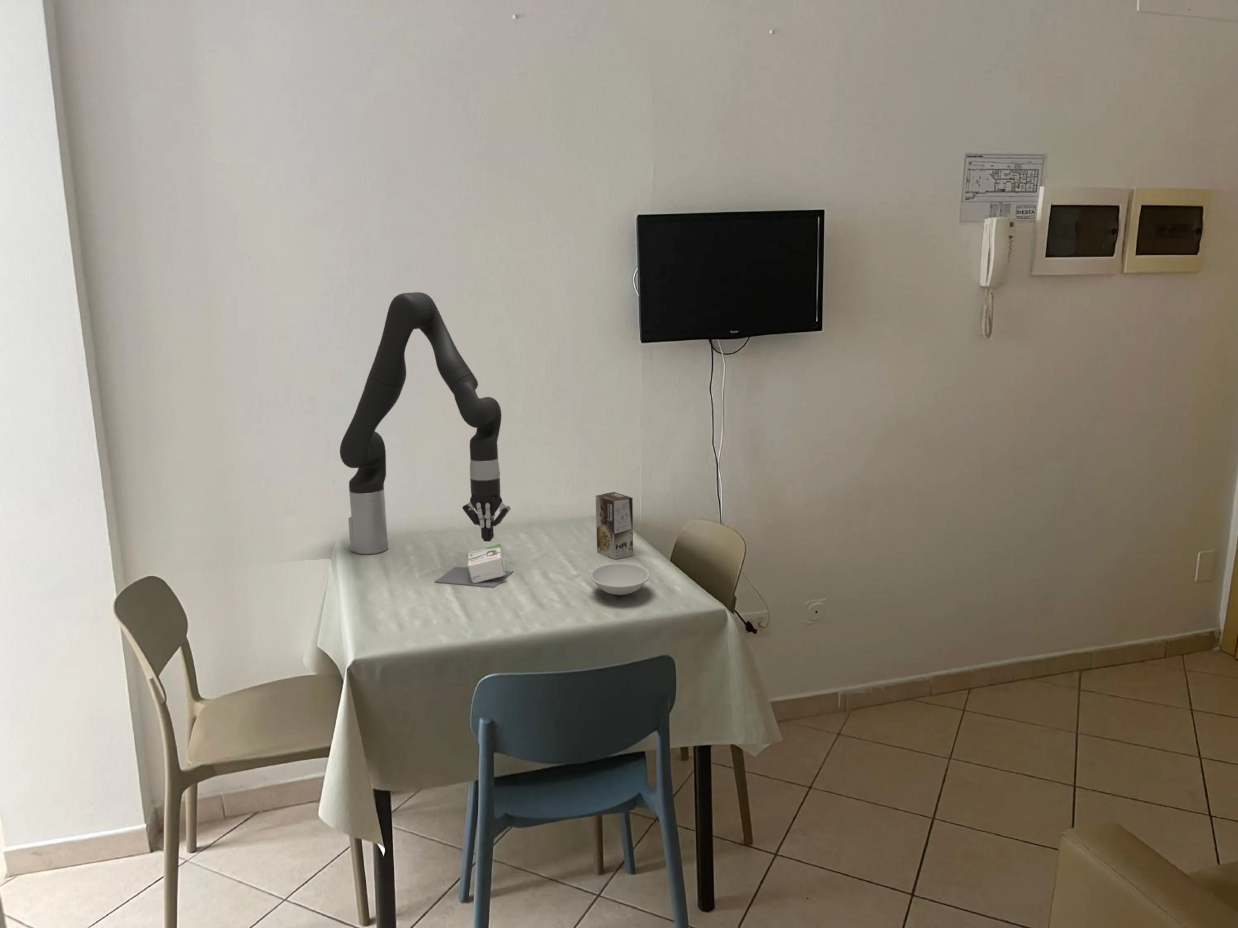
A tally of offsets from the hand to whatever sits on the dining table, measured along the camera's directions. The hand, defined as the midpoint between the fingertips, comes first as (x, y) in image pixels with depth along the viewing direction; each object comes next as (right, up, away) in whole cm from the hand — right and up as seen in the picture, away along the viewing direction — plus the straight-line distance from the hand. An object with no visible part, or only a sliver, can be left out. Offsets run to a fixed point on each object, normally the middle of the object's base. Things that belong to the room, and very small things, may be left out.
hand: (487, 540), depth 239 cm
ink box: (0, -4, -1) cm, 4 cm away
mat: (-2, -9, -7) cm, 11 cm away
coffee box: (+33, -5, +11) cm, 35 cm away
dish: (+34, -11, -20) cm, 41 cm away
